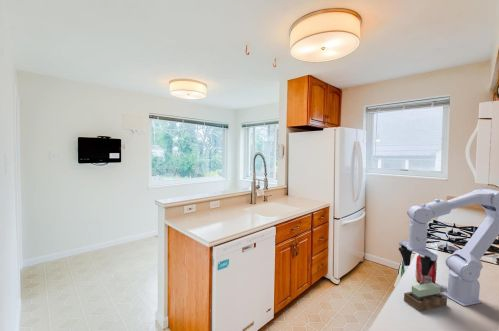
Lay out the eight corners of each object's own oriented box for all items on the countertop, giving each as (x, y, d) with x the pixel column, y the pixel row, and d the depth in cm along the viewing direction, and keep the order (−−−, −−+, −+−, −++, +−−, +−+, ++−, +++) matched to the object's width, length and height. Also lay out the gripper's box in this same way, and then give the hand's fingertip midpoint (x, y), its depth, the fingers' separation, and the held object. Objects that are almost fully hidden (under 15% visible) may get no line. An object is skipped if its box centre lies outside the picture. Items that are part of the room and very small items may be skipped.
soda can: (426, 277, 105) (428, 251, 104) (439, 287, 98) (441, 259, 97) (411, 277, 105) (412, 251, 104) (423, 287, 98) (425, 259, 97)
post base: (430, 295, 92) (430, 288, 92) (446, 305, 86) (447, 297, 86) (403, 300, 88) (404, 293, 88) (418, 311, 83) (419, 303, 83)
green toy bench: (431, 298, 90) (432, 282, 90) (439, 303, 87) (440, 286, 87) (410, 302, 87) (411, 285, 87) (418, 307, 85) (419, 290, 84)
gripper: (393, 231, 98) (392, 262, 99) (428, 244, 84) (425, 281, 85) (407, 230, 100) (405, 260, 101) (442, 243, 86) (440, 278, 87)
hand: (415, 270), depth 93 cm, fingers open, 7 cm apart
